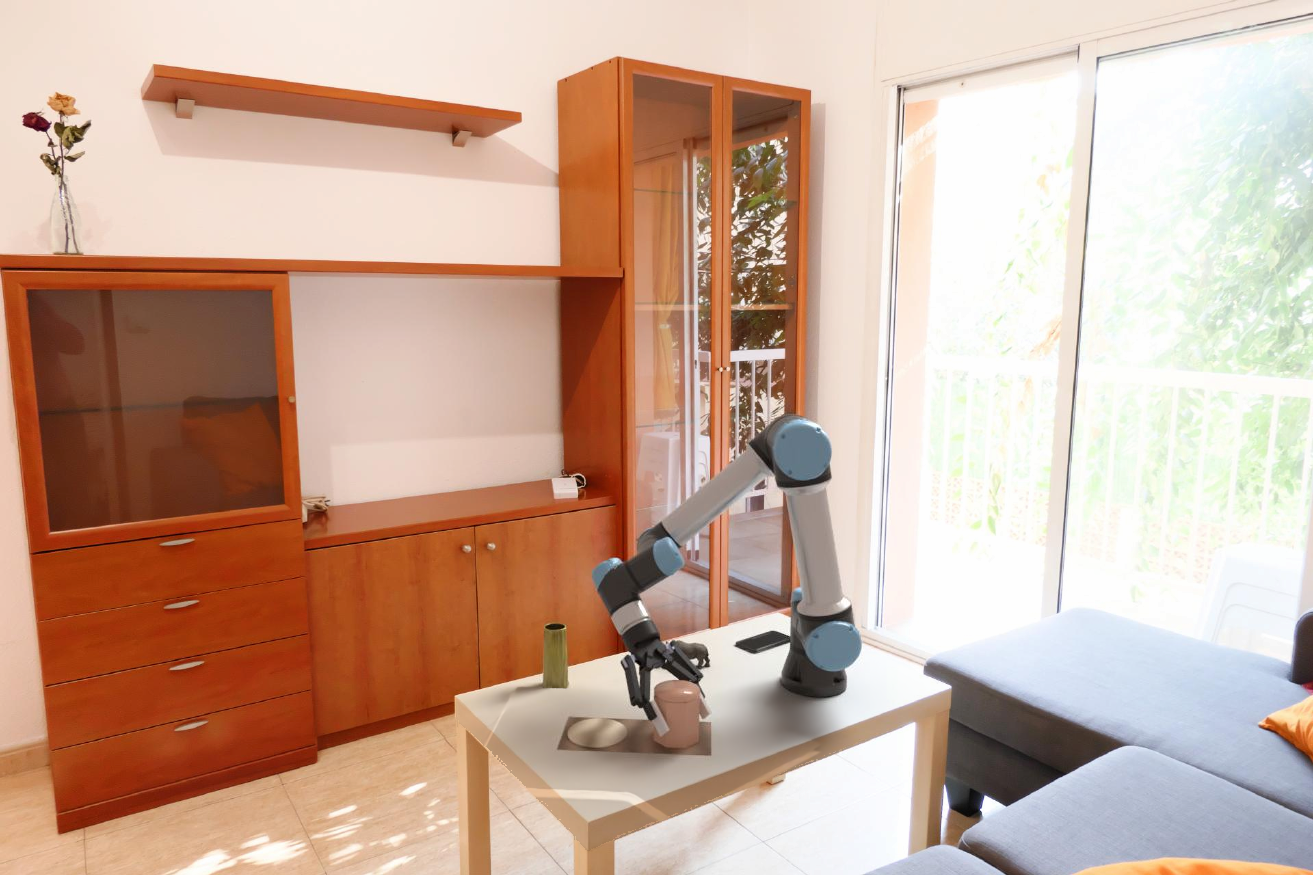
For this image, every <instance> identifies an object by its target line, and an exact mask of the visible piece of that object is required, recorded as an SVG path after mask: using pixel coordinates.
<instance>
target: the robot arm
mask: <svg viewBox="0 0 1313 875" xmlns="http://www.w3.org/2000/svg"><path fill="white" fill-rule="evenodd" d="M832 450H833V448H832V444H831V441H830V438H829V436H828V434H827V433H826V431H825V430H824V429H823V428H822V427H821V426H820V425H819V424H818V423H816V422H814V421H812V420H809V419H808V418H807V417H804V416H803V415H800V414H796V413H790V414H789V413H788V414H784V415H780V416H779V417H777V418H775V419H774V420H772V421H770V423H769V424H767V426H766V427H764V428H763V429H762V430H761V431H760V432H759V433H758V434H757V435H755V437H753V438H752V439H751V440H749V442H747V443H746V447H745V450H744V452H742V453H741V454H740V455H738V457H736V458H735V459H734V460H733V461H732V462H731V463H729V464H728V465H727V466H725V467H724V468H723V469H722V470H721V471H719V472H718V473H717V474H716V475H715V476H713V477H712V478H711V479H710V480H709V481H707V482H706V483H705V484H704V485H702V486H701V487H700V488H699V489H698V490H697V491H695V492H694V493H693V494H691V496H690V497H688V498H687V499H686V500H684V502H682V503H680V505H679V506H678V507H676V508H675V509H674V510H672V511H671V512H670V513H669V514H668V515H666V516H665V517H664V518H663V519H661V521H660V522H658V523H657V524H655V525H654V526H652V527H649V528H646V529H644V530H643V531H642V533H640V535H639V538H638V539H637V544H636V550H637V554H635V555H633V556H632V557H631V558H628V559H627V560H626V561H622V560H621V559H620V558H618V557H612V558H609V559H607V560H604V561H602V562H600V563H599V564H597V565H596V566H595V567H594V568H593V570H592V571H591V574H590V575H591V576H590V577H591V580H592V582H593V584H594V587H595V589H596V592H597V594H598V596H599V598H600V599H601V601H602V604H603V605H604V607H605V608H606V611H607V613H608V614H609V617H610V619H611V621H612V623H613V625H614V627H615V628H616V631H617V633H618V634H619V635H621V641H622V642H623V644H624V646H625V649H626V651H627V652H628V653H630V654H626V655H625V656H624V657H623V658H622V659H621V660H620V666H621V667H622V669H623V671H624V675H625V681H626V685H627V691H628V696H629V697H628V698H629V703H630V705H631V706H632V707H636V706H637V708H638V709H643V711H644V713H645V715H646V717H647V720H650V721H653V723H654V725H655V727H656V729H657V731H658V733H659V735H660V737H661V736H663V735H665V734H666V733H667V732H668V731H669V730H670V729H669V727H668V725H667V723H666V722H665V720H664V718H663V716H662V714H661V712H660V710H659V708H658V706H657V704H656V702H655V700H654V699H652V700H651V673H652V671H653V670H655V669H656V670H657V669H660V668H661V669H662V670H664V671H667V672H668V673H670V674H671V675H672V676H674V677H675V678H676V680H684V681H689V682H692V683H694V684H696V685H697V686H699V688H700V703H699V717H700V718H701V720H704V719H706V718H707V717H709V716H710V715H711V714H712V710H711V709H710V707H709V705H708V703H707V701H706V695H705V692H704V691H703V689H702V688H701V685H700V682H701V680H702V679H703V678H704V674H703V673H702V672H701V671H700V669H698V668H697V667H696V666H697V665H695V664H694V663H693V661H692V660H689V658H688V657H687V656H686V655H685V654H684V653H683V652H682V651H681V650H680V648H679V646H678V644H677V642H676V641H677V640H675V639H672V640H671V641H670V642H668V644H666V643H665V642H663V641H662V640H661V634H660V631H659V629H658V627H657V626H656V624H655V622H654V620H652V619H651V618H652V616H651V615H650V612H649V610H648V609H647V606H646V605H645V603H644V601H643V599H642V597H641V594H642V593H644V592H646V591H647V590H649V589H651V588H652V587H654V586H655V585H657V584H659V583H660V582H662V581H664V580H666V579H668V577H671V576H673V575H675V573H677V572H678V571H679V570H681V569H683V567H684V566H685V564H686V561H685V558H684V556H683V554H682V553H681V551H680V549H682V547H683V546H684V545H686V544H687V543H688V542H689V541H691V540H692V539H693V538H694V537H696V536H697V535H698V534H699V533H700V532H701V531H702V530H703V531H704V529H705V528H706V527H707V526H709V525H710V524H711V523H712V522H713V521H715V520H716V519H717V518H718V517H720V516H721V515H722V514H724V513H725V512H726V511H727V510H728V509H730V508H731V507H732V506H733V505H734V504H735V503H737V502H738V501H739V500H741V499H742V498H743V497H744V496H745V495H747V494H748V493H749V492H750V491H752V490H753V489H754V488H755V487H756V486H757V485H759V484H760V483H762V481H764V480H765V479H766V478H768V477H770V478H772V477H775V484H776V487H777V488H778V489H779V490H781V491H782V492H784V493H785V499H786V504H787V505H786V506H787V511H788V512H787V513H788V518H789V524H790V529H791V530H790V532H791V536H792V542H793V548H794V555H795V560H796V566H797V572H798V578H799V579H798V580H799V585H800V586H798V587H796V588H794V589H793V590H792V591H791V597H790V628H789V630H790V634H789V636H790V643H789V651H788V653H787V656H786V658H785V662H784V664H783V665H782V670H781V677H780V678H781V680H780V682H781V684H782V686H783V687H784V688H786V689H787V690H788V691H791V692H792V693H796V694H798V695H803V696H808V697H815V698H816V697H817V698H818V697H820V698H821V697H824V698H825V697H832V696H837V695H839V694H842V693H844V691H846V689H847V686H848V675H847V671H846V669H847V668H850V667H851V666H852V665H853V664H854V663H855V662H856V661H857V659H858V658H859V657H860V654H861V652H862V644H863V642H862V636H861V634H860V631H859V630H858V629H857V627H856V624H855V618H854V612H853V605H852V600H851V599H850V598H849V597H848V596H846V595H845V594H844V593H843V588H842V580H841V575H840V568H839V563H838V556H837V549H836V543H835V535H834V529H833V524H832V518H831V512H830V505H829V498H828V492H827V491H828V490H827V486H828V484H830V482H831V481H832V480H833V475H832V469H831V468H832V467H831V464H830V463H831V460H832V454H833V451H832ZM666 651H667V653H666ZM669 654H670V655H669ZM635 664H636V665H638V671H637V667H636V665H635ZM637 673H638V674H637ZM638 675H639V678H638Z"/></svg>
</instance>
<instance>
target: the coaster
mask: <svg viewBox="0 0 1313 875" xmlns="http://www.w3.org/2000/svg"><path fill="white" fill-rule="evenodd" d="M593 718H594V719H587V720H583V721H580V722H577V723H575V724H574V725H572V726H571V727H570V728H569V730H568V738H569V740H570V741H571V742H573V743H574V744H576V745H578V746H582V747H586V748H606V747H610V746H614V745H617V744H619V743H620V742H622V741H623V740H624V739H625V738H626V736H627V729H626V727H625V726H624V725H623V724H621V723H619V722H617V721H614V720H611V719H603V718H604V717H593Z"/></svg>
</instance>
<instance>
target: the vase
mask: <svg viewBox="0 0 1313 875" xmlns="http://www.w3.org/2000/svg"><path fill="white" fill-rule="evenodd" d="M542 655H543V656H542V658H543V663H542V665H543V666H542V684H541V686H542V687H543V689H567V688H569V684H570V682H569V668H568V667H569V666H568V647H567V625H566V624H564V622H563V623H562V622H550V623H545V625H543V654H542Z"/></svg>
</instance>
